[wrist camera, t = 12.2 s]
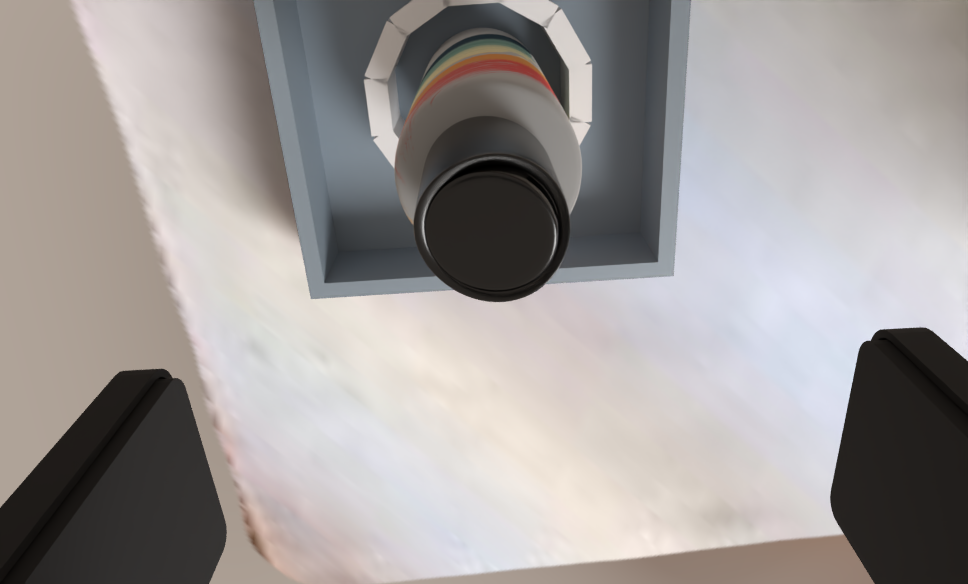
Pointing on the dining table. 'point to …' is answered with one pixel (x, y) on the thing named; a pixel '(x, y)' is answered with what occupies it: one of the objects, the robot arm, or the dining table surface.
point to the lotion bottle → (488, 168)
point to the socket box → (391, 91)
